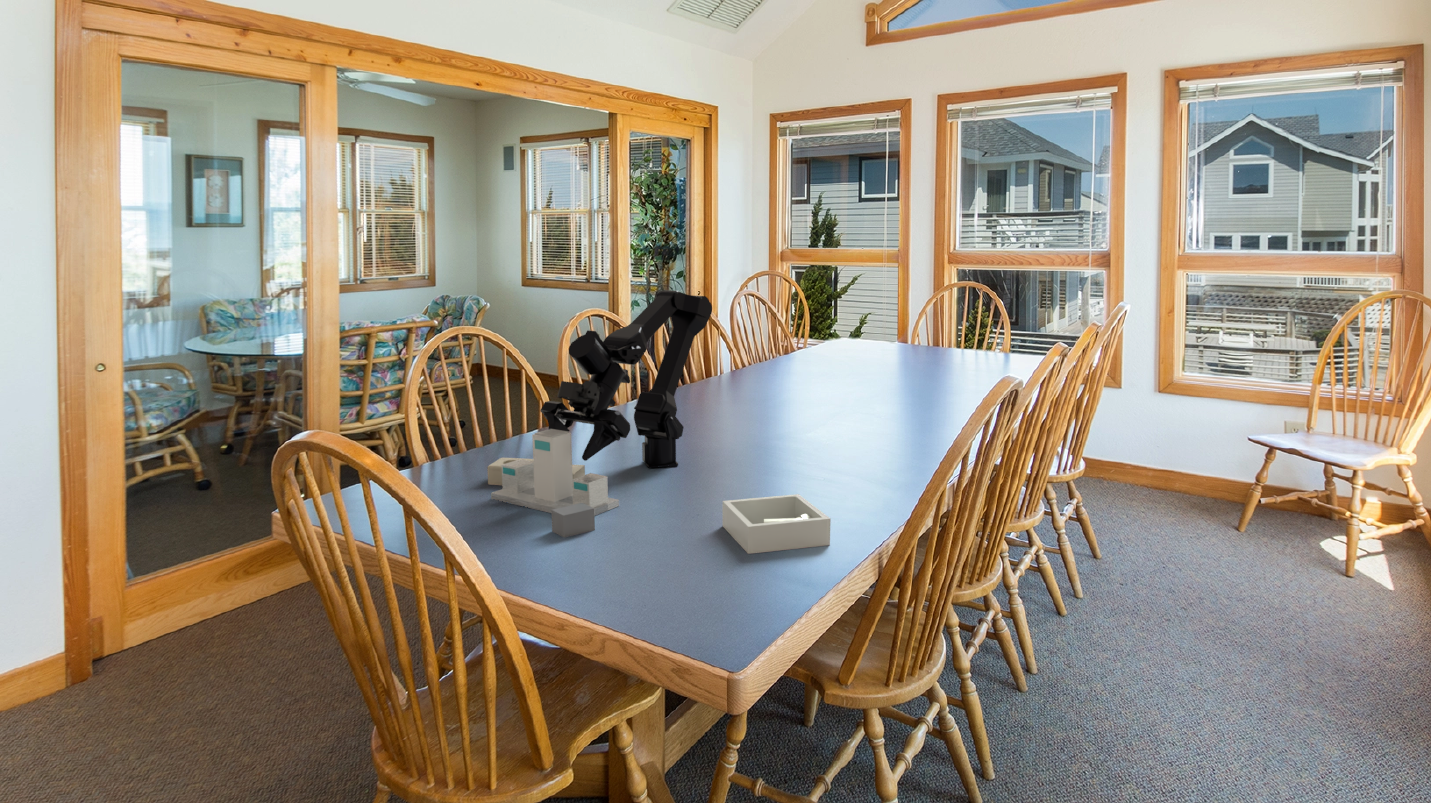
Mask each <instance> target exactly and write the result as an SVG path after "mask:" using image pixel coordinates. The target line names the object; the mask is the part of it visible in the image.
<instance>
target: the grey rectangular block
mask: <svg viewBox="0 0 1431 803" xmlns="http://www.w3.org/2000/svg"><path fill="white" fill-rule="evenodd" d="M550 514H551V532H552V533H554V534H557V535H558V536H560V537H562V538H568V537H573V536H577V535H581V534H584V533H589V532H592V531H596V523H595V522H596V521H595V518H596V517H595V516H596V515H594V508H592V507H590V506H588V505H586V504H583V503H579V504H574V505H570V506H566V507H561V508H557V509H552V510H551V513H550Z"/></svg>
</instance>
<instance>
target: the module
mask: <svg viewBox="0 0 1431 803" xmlns="http://www.w3.org/2000/svg"><path fill="white" fill-rule="evenodd" d="M531 438H532V459H533V464H534V489H535V498H540V499H544V500H548V501H553V502H556V501H559V500H561V499H564V498H567V497H570V496H572V495H573V489H572V479H573V473H572V465H573V448H572V447H573V446H572V432H570V431H569V432H568V431H562V430H556V429H549V430H548V429H545V430H542V431H538V432H534V433H533V434H532V436H531Z"/></svg>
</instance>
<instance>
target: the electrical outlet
mask: <svg viewBox="0 0 1431 803" xmlns="http://www.w3.org/2000/svg"><path fill="white" fill-rule="evenodd" d="M519 459H522V460H527V461H532V462H533V458H522V457H521V458H520V457H519V458H517V457H500V458H498V459H497V460H495V461H494V462H492V463H490V464H489V465H488V466H487V467H486V468H487V485H491V486H502V468H501V465H502V464H506V463H509V462H513V461H516V460H519ZM585 466H586V465H585V464H572V473H573V479H575V478H578V477H581V476H583V475H586V467H585Z"/></svg>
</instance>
